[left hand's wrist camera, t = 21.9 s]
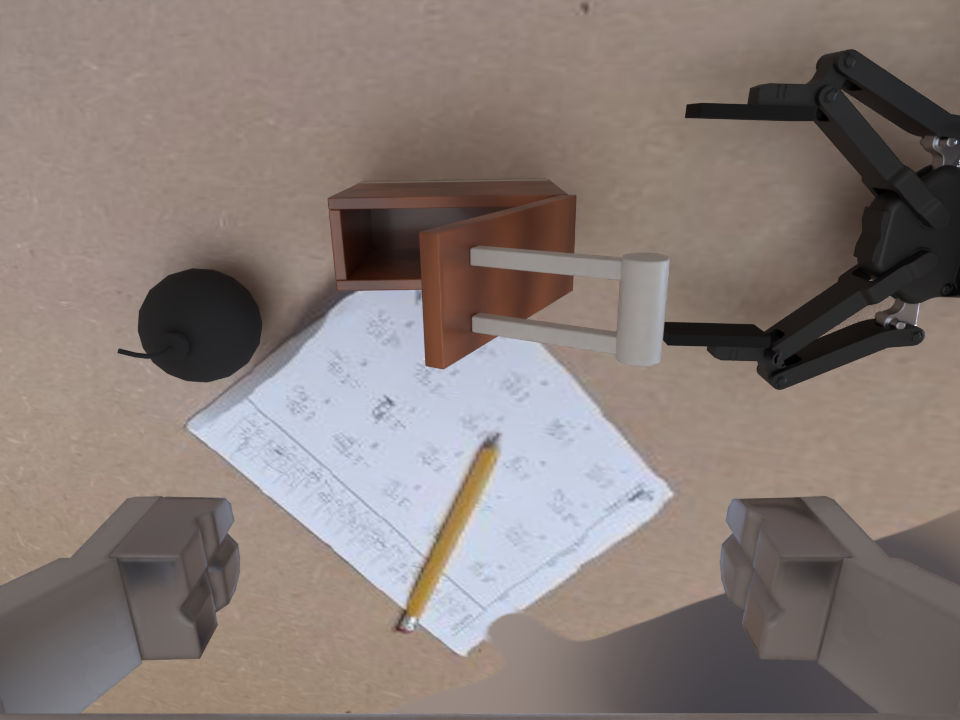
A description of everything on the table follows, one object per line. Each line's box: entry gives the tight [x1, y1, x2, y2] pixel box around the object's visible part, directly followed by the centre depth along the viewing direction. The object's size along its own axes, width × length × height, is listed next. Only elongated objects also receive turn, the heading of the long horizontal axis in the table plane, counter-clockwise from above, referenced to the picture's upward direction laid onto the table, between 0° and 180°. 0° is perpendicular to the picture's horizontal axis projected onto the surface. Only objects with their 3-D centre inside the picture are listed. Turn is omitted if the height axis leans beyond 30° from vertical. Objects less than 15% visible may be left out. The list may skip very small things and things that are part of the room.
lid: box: [419, 195, 670, 369], centre depth 28 cm, size 14×5×9 cm
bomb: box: [117, 269, 262, 382], centre depth 42 cm, size 8×8×12 cm
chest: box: [328, 179, 568, 291], centre depth 41 cm, size 13×5×10 cm, turn 91°
